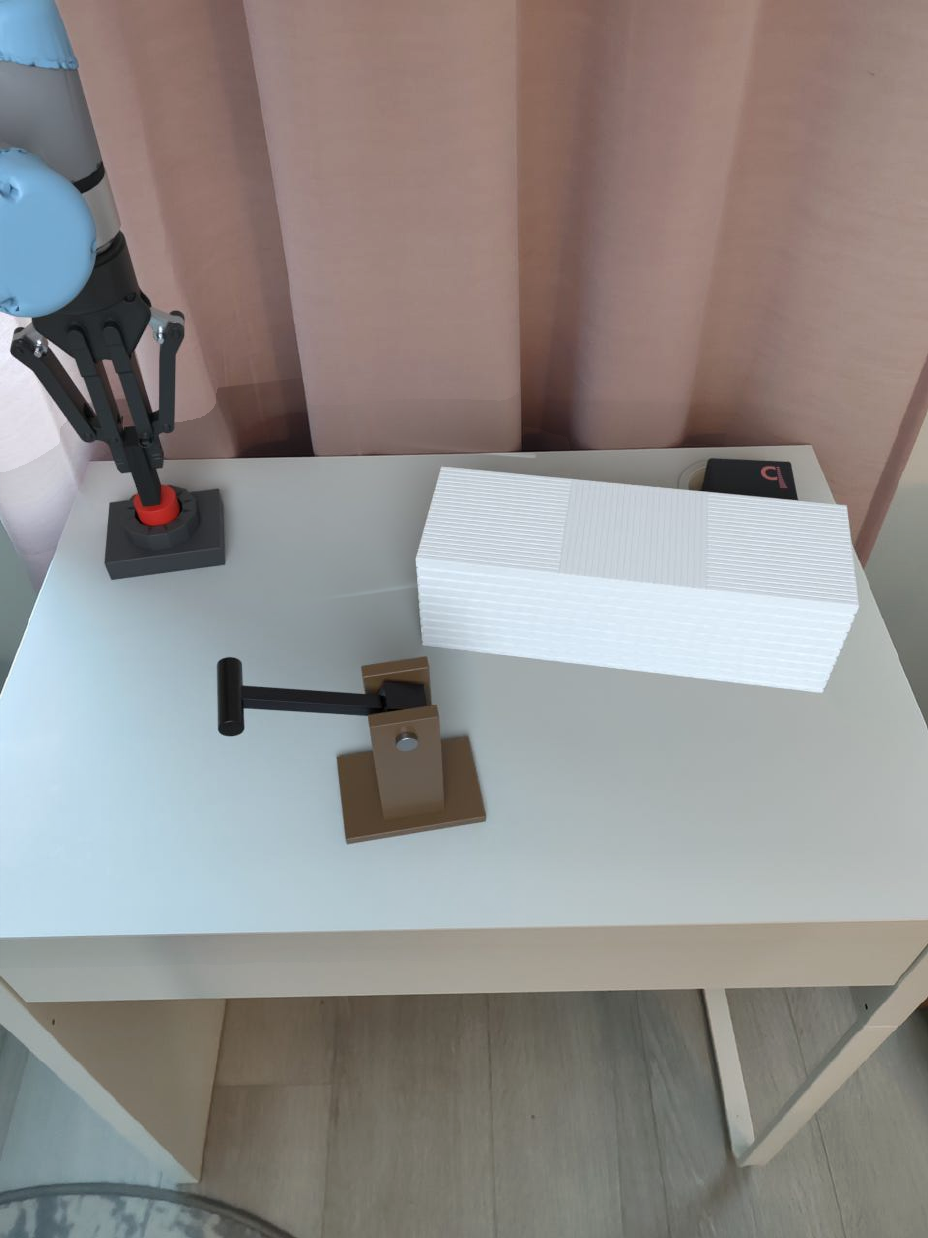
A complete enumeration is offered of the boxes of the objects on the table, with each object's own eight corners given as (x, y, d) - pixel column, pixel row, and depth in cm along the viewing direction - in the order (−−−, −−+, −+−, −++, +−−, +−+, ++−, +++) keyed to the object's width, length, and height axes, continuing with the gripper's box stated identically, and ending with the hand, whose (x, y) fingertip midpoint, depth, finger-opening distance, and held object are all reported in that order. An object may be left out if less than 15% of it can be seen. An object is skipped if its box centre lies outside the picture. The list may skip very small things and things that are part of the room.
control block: (111, 580, 88) (97, 548, 85) (115, 519, 93) (103, 487, 90) (225, 565, 89) (216, 532, 86) (223, 505, 94) (214, 473, 91)
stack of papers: (422, 649, 82) (415, 558, 74) (445, 558, 89) (441, 465, 81) (820, 697, 78) (859, 606, 70) (812, 598, 85) (846, 504, 77)
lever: (214, 740, 60) (221, 716, 58) (213, 675, 63) (219, 651, 62) (421, 750, 65) (432, 728, 63) (410, 689, 68) (421, 667, 66)
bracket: (347, 848, 71) (325, 747, 61) (338, 766, 75) (316, 660, 65) (486, 825, 72) (486, 722, 62) (468, 745, 76) (466, 638, 66)
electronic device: (707, 580, 87) (717, 539, 83) (699, 498, 94) (708, 457, 90) (793, 585, 86) (808, 544, 83) (779, 502, 93) (791, 461, 90)
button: (138, 528, 87) (132, 514, 86) (139, 501, 89) (134, 486, 88) (179, 523, 88) (175, 508, 86) (180, 496, 90) (175, 481, 89)
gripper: (-38, 276, 66) (71, 534, 84) (162, 256, 67) (228, 514, 85) (-22, 222, 71) (78, 476, 89) (164, 205, 72) (226, 459, 90)
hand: (152, 495), depth 87 cm, fingers closed
